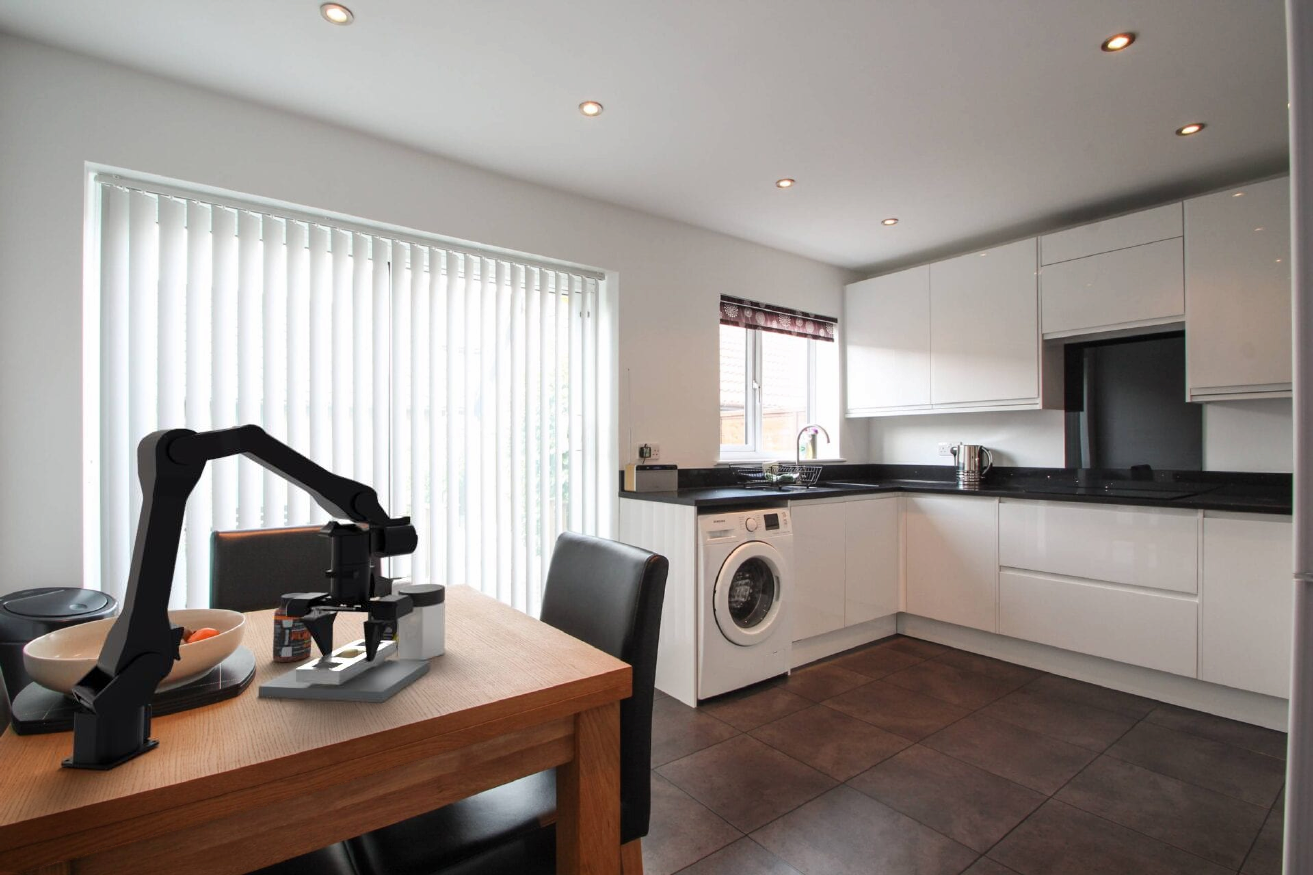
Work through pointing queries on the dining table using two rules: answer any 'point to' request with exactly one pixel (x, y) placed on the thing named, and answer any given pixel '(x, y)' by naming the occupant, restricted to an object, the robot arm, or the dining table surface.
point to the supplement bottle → (289, 634)
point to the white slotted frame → (342, 664)
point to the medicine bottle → (392, 628)
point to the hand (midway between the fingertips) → (349, 660)
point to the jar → (422, 623)
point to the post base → (351, 682)
